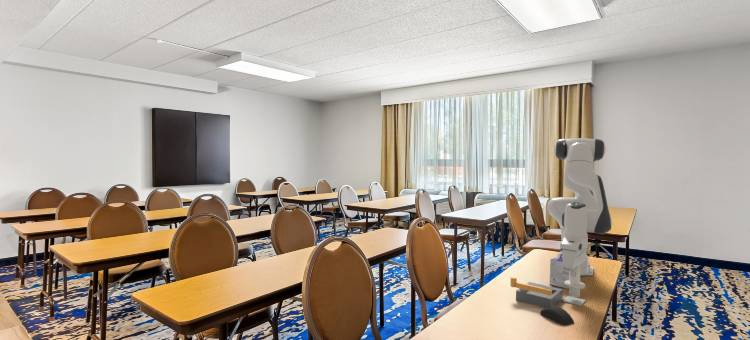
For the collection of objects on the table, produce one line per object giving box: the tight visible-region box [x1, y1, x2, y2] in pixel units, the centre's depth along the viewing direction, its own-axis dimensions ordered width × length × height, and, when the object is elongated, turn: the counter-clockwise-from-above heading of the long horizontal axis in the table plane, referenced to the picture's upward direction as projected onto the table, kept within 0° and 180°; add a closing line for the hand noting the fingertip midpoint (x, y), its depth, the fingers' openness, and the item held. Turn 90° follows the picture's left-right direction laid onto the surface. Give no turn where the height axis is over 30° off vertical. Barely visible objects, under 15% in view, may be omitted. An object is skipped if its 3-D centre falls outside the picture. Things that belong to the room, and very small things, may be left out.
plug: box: [564, 265, 586, 298], centre depth 159 cm, size 8×8×13 cm
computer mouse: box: [539, 305, 575, 326], centre depth 143 cm, size 6×11×4 cm, turn 24°
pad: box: [562, 295, 586, 307], centre depth 160 cm, size 7×7×1 cm
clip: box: [510, 276, 552, 296], centre depth 157 cm, size 2×16×4 cm, turn 48°
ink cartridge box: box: [549, 254, 570, 290], centre depth 178 cm, size 10×6×14 cm, turn 41°
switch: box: [515, 281, 564, 308], centre depth 162 cm, size 15×14×5 cm
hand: (574, 275), depth 159 cm, fingers closed on plug, 4 cm apart
